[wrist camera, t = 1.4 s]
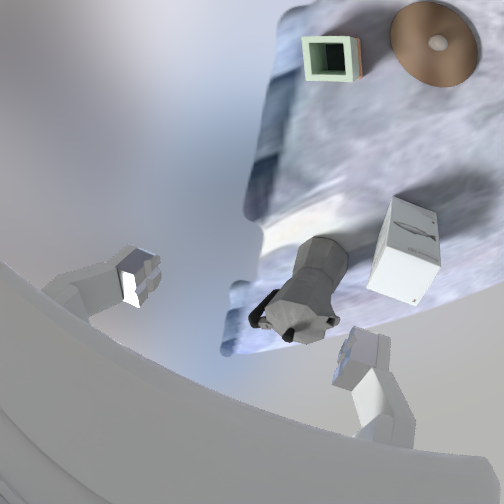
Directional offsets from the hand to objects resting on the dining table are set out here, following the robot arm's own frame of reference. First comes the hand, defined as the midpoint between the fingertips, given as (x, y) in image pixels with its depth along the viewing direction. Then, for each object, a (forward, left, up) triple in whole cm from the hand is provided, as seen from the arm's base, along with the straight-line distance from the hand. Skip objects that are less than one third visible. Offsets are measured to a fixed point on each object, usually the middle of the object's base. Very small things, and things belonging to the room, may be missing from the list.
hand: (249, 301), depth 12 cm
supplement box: (-8, +15, -33) cm, 37 cm away
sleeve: (+2, -8, -33) cm, 34 cm away
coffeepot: (+6, +25, -33) cm, 42 cm away
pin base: (-10, -11, -33) cm, 36 cm away
